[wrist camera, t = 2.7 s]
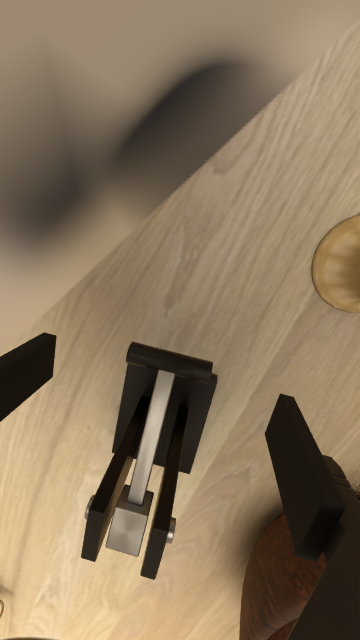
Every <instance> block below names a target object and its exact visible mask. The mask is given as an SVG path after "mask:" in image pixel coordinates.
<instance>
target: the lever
mask: <svg viewBox="0 0 360 640" xmlns="http://www.w3.org/2000/svg"><path fill="white" fill-rule="evenodd" d="M126 362H127V363H129V364H133V365H137V366H141V367H145V368H149V369H152V370H156V371H158V375H157V379H156V383H155V387H154V391H153V395H152V399H151V403H150V407H149V411H148V415H147V419H146V423H145V428H144V432H143V436H142V440H141V444H140V448H139V452H138V456H137V460H136V464H135V468H134V472H133V476H132V480H131V484H130V485H126V484H125V485H124V487H123V489H122V492H121V494H120V497H119V499H118V501H117V504H116V506H115V510H114V514H113V518H112V522H111V526H110V530H109V534H108V538H107V542H106V548H109V549H113V550H116V551H119V552H123V553H126V554H129V555H133V556H136V557H138V556H139V552H140V548H141V544H142V540H143V536H144V532H145V528H146V524H147V520H148V516H149V512H150V507H151V503H152V499H153V495H154V492H151V491H147V486H148V482H149V478H150V474H151V470H152V466H153V462H154V458H155V454H156V450H157V446H158V442H159V438H160V434H161V430H162V426H163V422H164V418H165V414H166V410H167V406H168V402H169V398H170V394H171V390H172V386H173V382H174V378H175V376H179V377H183V378H187V379H191V380H194V381H198V382H202V383H206V384H208V382H209V380H210V376H211V372H212V367H213V362H210V361H206V360H202V359H198V358H194V357H190V356H186V355H183V354H179V353H175V352H171V351H167V350H163V349H159V348H155V347H151V346H148V345H144V344H140V343H136V342H132V343H131V344H130V346H129V349H128V352H127V356H126Z"/></svg>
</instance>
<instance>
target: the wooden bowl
mask: <svg viewBox="0 0 360 640" xmlns="http://www.w3.org/2000/svg"><path fill="white" fill-rule="evenodd" d="M359 502H360V500H359ZM326 565H327V561H326V558H325V555H324V552H323V551H322V553H321V555H320V557H319V559H318V561H317V562H314V561H310V560H307V559H303V558H300V557H297V556H295V552H294V548H293V544H292V540H291V536H290V532H289V528H288V524H287V520H286V516H285V514H283V515H282V516H280V517H279V518H278V519H276V520H275V521H274V522H272V523H271V524H270V525H269V526H268V527H267V528H266V529H265V531H264V532H263V533H262V535H261V536H260V538H259V539H258V541H257V543H256V545H255V547H254V549H253V551H252V554H251V557H250V560H249V562H248V565H247V569H246V574H245V578H244V584H243V591H242V599H241V613H240V636H239V640H286V639H287V637H288V635H289V633H290V632H291V630H292V628H293V626H294V624H295V622H296V620H297V619H298V617H299V615H300V613H301V611H302V609H303V607H304V606H305V604H306V602H307V600H308V598H309V596H310V595H311V593H312V591H313V589H314V587H315V585H316V583H317V581H318V579H319V578H320V576H321V574H322V572H323V570H324V569H325V567H326Z"/></svg>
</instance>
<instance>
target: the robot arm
mask: <svg viewBox="0 0 360 640" xmlns="http://www.w3.org/2000/svg"><path fill="white" fill-rule="evenodd" d="M55 346H56V335H52V334H48V333H42V334H40V335H38V336H37V337H35V338H33V339H31V340H29V341H28V342H26V343H24V344H22V345H20V346H19V347H17V348H15V349H13V350H11V351H10V352H8V353H6V354H4V355H2V356H1V357H0V422H1V421H2V420H3V419H4V418H5V417H7V416H8V415H9V414H10V413H11V412H12V411H14V410H15V409H16V408H17V407H18V406H19V405H21V404H22V403H23V402H24V401H25V400H26V399H28V398H29V397H30V396H31V395H32V394H33V393H35V392H36V391H37V390H38V389H39V388H40V387H42V386H43V385H44V384H45V383H46V382H47V381H49V380H50V379H51V378H52V377H53V368H54V357H55ZM265 436H266V440H267V444H268V448H269V452H270V456H271V460H272V464H273V468H274V472H275V476H276V480H277V484H278V488H279V492H280V496H281V500H282V504H283V508H284V512H285V516H286V520H287V524H288V528H289V532H290V536H291V540H292V544H293V548H294V552H295V556H297V557H300V558H303V559H307V560H310V561H314V562H317V561H318V559H319V557H320V555H321V553H322V551H323V552H324V555H325V558H326V561H327V565H326V567H325V569H324V570H323V572H322V574H321V576H320V578H319V579H318V581H317V583H316V585H315V587H314V589H313V591H312V593H311V595H310V596H309V598H308V600H307V602H306V604H305V606H304V607H303V609H302V611H301V613H300V615H299V617H298V619H297V620H296V622H295V624H294V626H293V628H292V630H291V632H290V633H289V635H288V637H287V639H286V640H360V502H359V500H358V498H357V497H356V495H355V493H354V491H353V489H351V486H350V484H349V482H348V480H346V476H345V474H344V473H343V471H342V469H341V467H340V466H339V465H338V464H337V463H336V462H335V461H334V460H333V459H332V458H331V457H329V456H325V455H322V454H321V452H320V450H319V448H318V446H317V444H316V442H315V440H314V438H313V436H312V434H311V432H310V430H309V427H308V425H307V423H306V421H305V419H304V417H303V415H302V413H301V411H300V409H299V407H298V405H297V403H296V401H295V399H294V397H291V396H287V395H284V394H280V395H279V398H278V400H277V403H276V405H275V408H274V411H273V413H272V416H271V419H270V421H269V424H268V426H267V429H266V432H265Z"/></svg>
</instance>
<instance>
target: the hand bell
mask: <svg viewBox="0 0 360 640" xmlns="http://www.w3.org/2000/svg"><path fill="white" fill-rule="evenodd" d="M312 277H313V282H314V285H315V287H316V290H317V291H318V293H319V295H320V296H321V297H322V298H323V300H324V301H325V302H327V303H328V304H330V305H331V306H333V307H334V308H337V309H339V310H342V311H346V312H352V313H360V215H357V216H354V217H351V218H349V219H347V220H345V221H343V222H341V223H340V224H338V225H337V226H336V227H335V228H333V229H332V230H331V231H330V232H329V233H328V234H327V235H326V236H325V238H324V239H323V240H322V242H321V243H320V245H319V247H318V249H317V251H316V253H315V256H314V259H313V265H312Z"/></svg>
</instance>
